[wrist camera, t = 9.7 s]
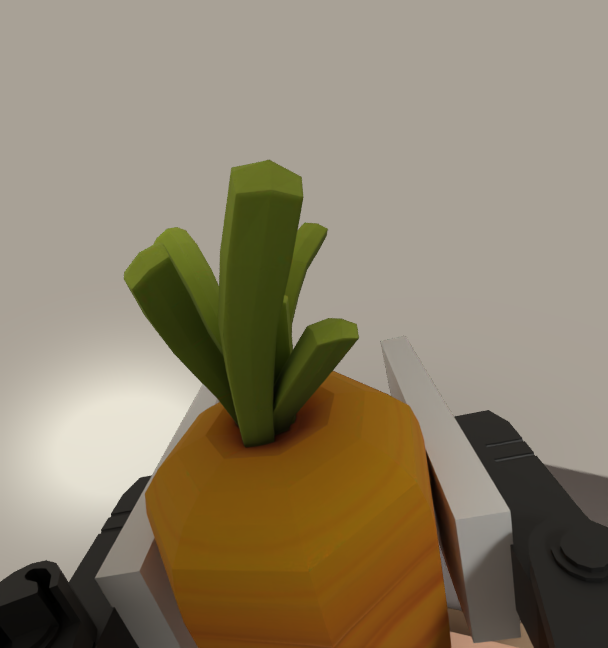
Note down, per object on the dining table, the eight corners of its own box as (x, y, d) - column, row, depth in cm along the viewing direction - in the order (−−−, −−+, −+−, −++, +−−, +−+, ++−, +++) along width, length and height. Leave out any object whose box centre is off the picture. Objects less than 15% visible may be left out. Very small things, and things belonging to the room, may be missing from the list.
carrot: (283, 700, 12) (76, 224, 7) (429, 642, 13) (329, 159, 8) (319, 1013, 7) (-211, 257, 2) (548, 901, 8) (486, 84, 3)
